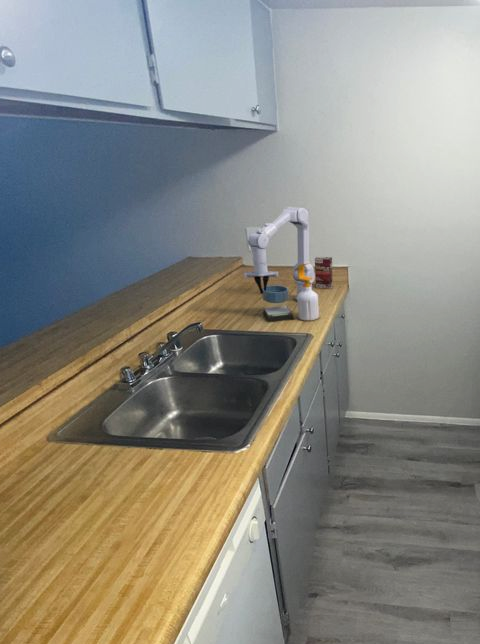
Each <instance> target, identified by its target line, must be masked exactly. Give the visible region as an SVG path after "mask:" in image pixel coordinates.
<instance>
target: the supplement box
mask: <svg viewBox="0 0 480 644" xmlns="http://www.w3.org/2000/svg"><path fill="white" fill-rule="evenodd" d="M314 273H315V289H329V290H330V289H332V288H333V287H334V285H333V283H334V281H333V280H334V279H333V257H328V256H316V257H315V258H314Z"/></svg>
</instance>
